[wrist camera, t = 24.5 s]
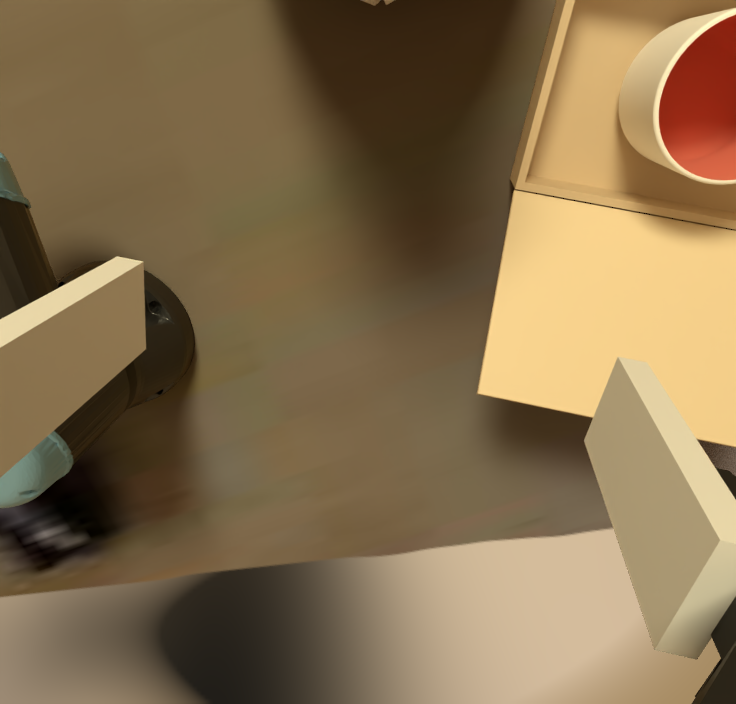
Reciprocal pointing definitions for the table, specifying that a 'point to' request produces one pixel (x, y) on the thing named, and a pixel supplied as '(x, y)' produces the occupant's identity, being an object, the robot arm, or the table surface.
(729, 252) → the lid
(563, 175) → the box
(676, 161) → the cup
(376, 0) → the vase
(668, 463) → the robot arm
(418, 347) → the table surface
